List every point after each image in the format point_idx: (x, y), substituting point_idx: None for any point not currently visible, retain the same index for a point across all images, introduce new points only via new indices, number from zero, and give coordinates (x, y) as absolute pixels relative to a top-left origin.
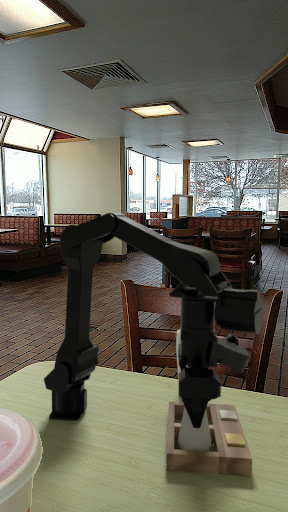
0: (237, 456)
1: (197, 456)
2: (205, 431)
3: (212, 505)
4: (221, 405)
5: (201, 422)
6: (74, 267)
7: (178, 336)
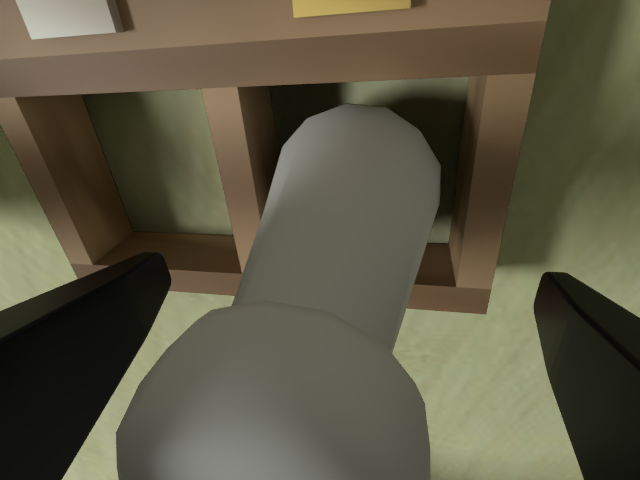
0: None
1: (508, 190)
2: (404, 174)
3: None
4: None
5: (613, 303)
6: None
7: None
